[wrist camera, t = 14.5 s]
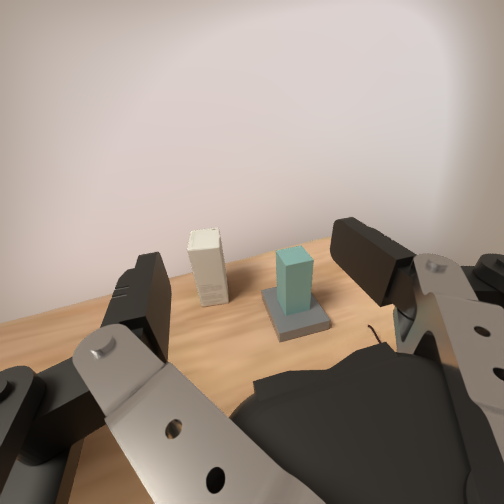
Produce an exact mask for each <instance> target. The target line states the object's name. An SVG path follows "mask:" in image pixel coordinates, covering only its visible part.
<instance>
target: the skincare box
mask: <svg viewBox="0 0 504 504" xmlns="http://www.w3.org/2000/svg"><path fill="white" fill-rule="evenodd" d="M187 251H188V254H189V259H190V263H191V266H192V270H193V274H194V278H195V282H196V286H197V290H198V294H199V298H200V302H201V306H202V307H206V306H213V305H219V304H226V303H229V296H228V283H227V275H226V269H225V262H224V256H223V250H222V243H221V237H220V232H219V228H211V229H204V230H195V231H191V234H190V238H189V243H188V249H187Z"/></svg>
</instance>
